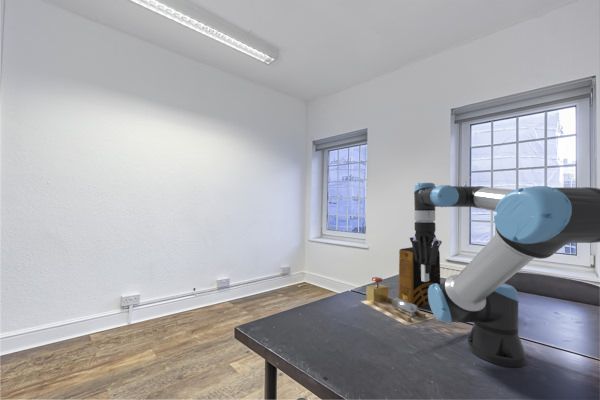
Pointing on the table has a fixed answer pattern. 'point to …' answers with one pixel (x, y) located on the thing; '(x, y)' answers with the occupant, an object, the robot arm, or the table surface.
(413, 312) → the silver metal cylinder
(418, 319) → the board
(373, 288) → the valve
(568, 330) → the table surface
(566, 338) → the table surface
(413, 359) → the table surface
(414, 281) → the black and orange box
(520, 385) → the table surface
